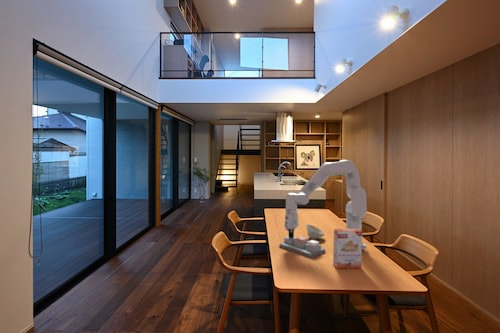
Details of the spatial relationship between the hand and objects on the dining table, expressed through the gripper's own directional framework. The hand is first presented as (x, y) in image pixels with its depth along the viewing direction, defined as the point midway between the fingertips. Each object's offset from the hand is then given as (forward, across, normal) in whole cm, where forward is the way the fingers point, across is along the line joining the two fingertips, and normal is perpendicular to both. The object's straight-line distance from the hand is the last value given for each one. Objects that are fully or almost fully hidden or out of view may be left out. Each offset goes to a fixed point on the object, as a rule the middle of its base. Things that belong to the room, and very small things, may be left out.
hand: (291, 237), depth 176 cm
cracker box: (+6, -2, -42) cm, 42 cm away
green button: (+3, 0, 0) cm, 3 cm away
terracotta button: (+1, 0, -9) cm, 9 cm away
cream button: (+1, 0, -18) cm, 18 cm away
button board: (+6, 0, -9) cm, 11 cm away
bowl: (+6, +25, -2) cm, 26 cm away
